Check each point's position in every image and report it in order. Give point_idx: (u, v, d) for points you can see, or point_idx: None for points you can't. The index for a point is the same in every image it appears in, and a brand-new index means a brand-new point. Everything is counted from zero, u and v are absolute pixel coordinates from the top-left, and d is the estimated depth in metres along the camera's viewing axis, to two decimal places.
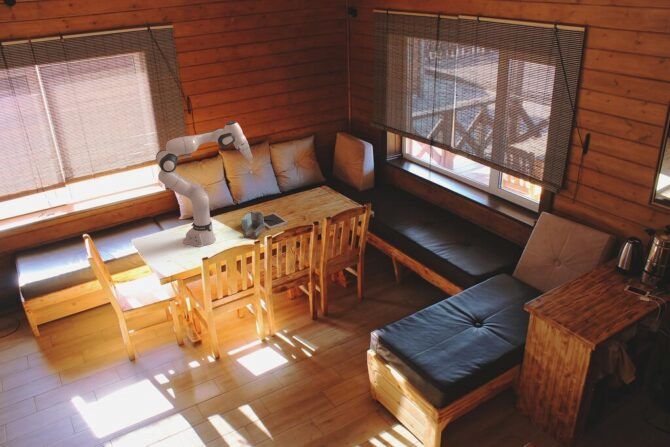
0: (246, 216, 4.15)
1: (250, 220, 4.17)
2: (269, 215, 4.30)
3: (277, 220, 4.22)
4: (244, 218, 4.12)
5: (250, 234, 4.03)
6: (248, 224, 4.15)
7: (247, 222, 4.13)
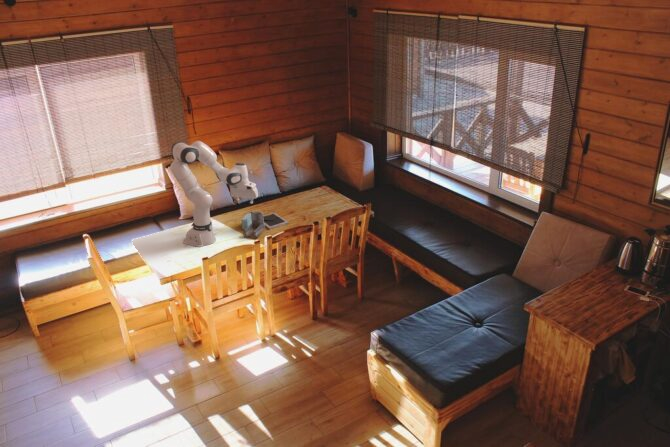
0: (246, 216, 4.15)
1: (250, 220, 4.17)
2: (269, 215, 4.30)
3: (277, 220, 4.22)
4: (244, 218, 4.12)
5: (250, 234, 4.03)
6: (248, 224, 4.15)
7: (247, 222, 4.13)
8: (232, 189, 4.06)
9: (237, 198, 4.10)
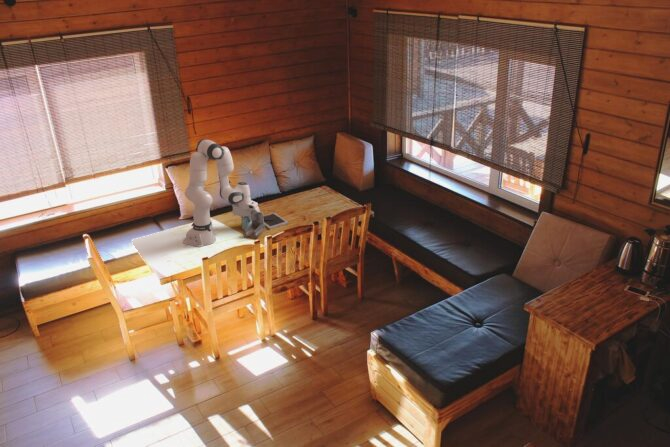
0: (246, 216, 4.15)
1: None
2: (269, 215, 4.30)
3: (277, 220, 4.22)
4: (244, 218, 4.12)
5: (250, 234, 4.03)
6: (248, 224, 4.15)
7: (247, 222, 4.13)
8: (234, 208, 4.12)
9: (242, 217, 4.16)
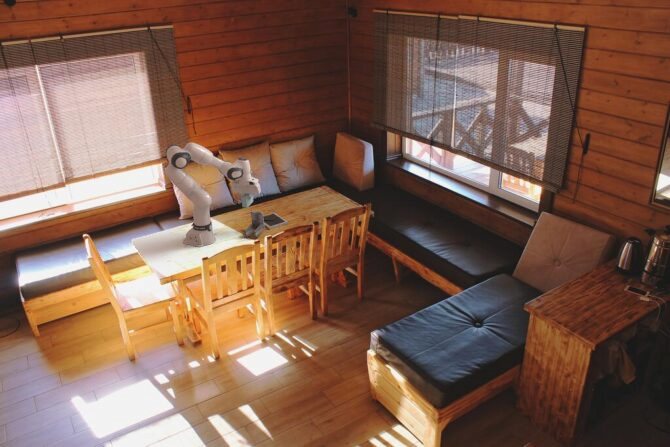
0: None
1: None
2: (269, 215, 4.30)
3: (277, 220, 4.22)
4: (244, 195, 3.98)
5: (250, 234, 4.03)
6: (248, 201, 4.01)
7: (247, 199, 3.99)
8: (234, 185, 3.99)
9: (242, 194, 4.02)
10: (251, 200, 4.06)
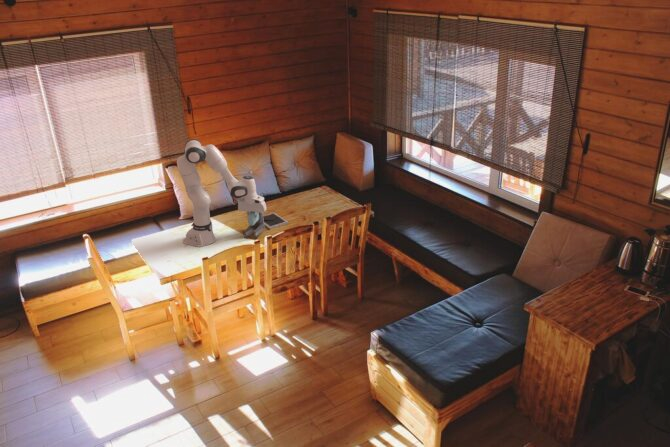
0: None
1: None
2: (269, 215, 4.30)
3: (277, 220, 4.22)
4: (250, 213, 3.97)
5: (250, 234, 4.03)
6: (254, 219, 4.00)
7: (253, 217, 3.98)
8: (240, 203, 3.98)
9: (248, 212, 4.01)
10: (257, 218, 4.05)
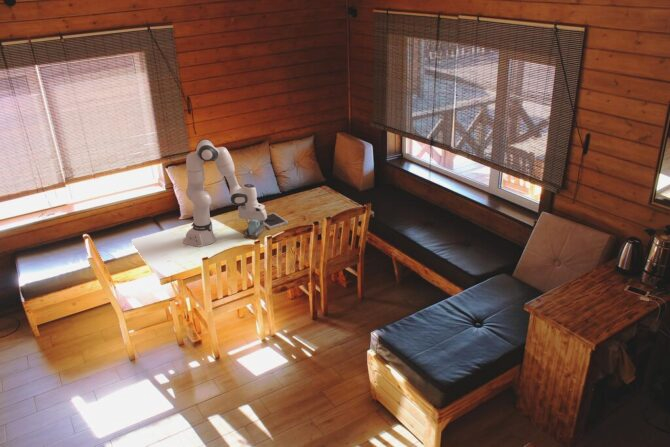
0: (253, 221, 4.04)
1: (257, 225, 4.06)
2: (269, 215, 4.30)
3: (277, 220, 4.22)
4: (251, 223, 4.01)
5: None
6: (255, 229, 4.03)
7: (254, 227, 4.01)
8: (240, 211, 4.00)
9: (247, 220, 4.04)
10: None
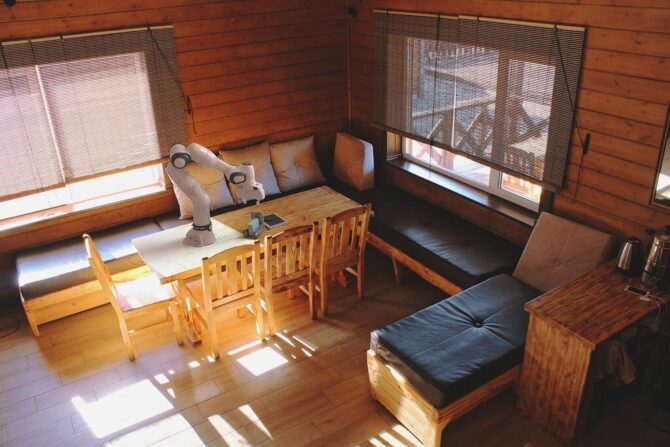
0: (253, 221, 4.04)
1: (257, 225, 4.06)
2: (269, 215, 4.30)
3: (277, 220, 4.22)
4: (251, 223, 4.01)
5: None
6: (255, 229, 4.03)
7: (254, 227, 4.01)
8: (238, 190, 3.93)
9: (243, 199, 3.97)
10: None
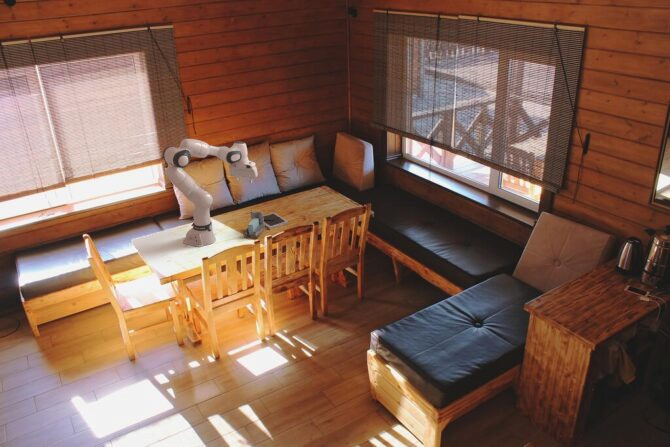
0: (253, 221, 4.04)
1: (257, 225, 4.06)
2: (269, 215, 4.30)
3: (277, 220, 4.22)
4: (251, 223, 4.01)
5: None
6: (255, 229, 4.03)
7: (254, 227, 4.01)
8: (231, 168, 4.02)
9: (236, 178, 4.06)
10: None
